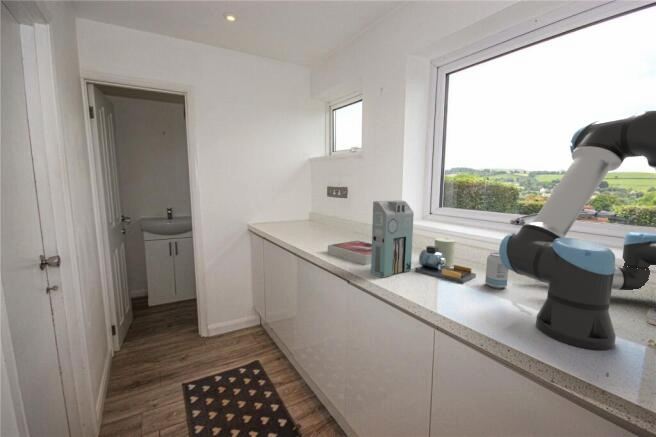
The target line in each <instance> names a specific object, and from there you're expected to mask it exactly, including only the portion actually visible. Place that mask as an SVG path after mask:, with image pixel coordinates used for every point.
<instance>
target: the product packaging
mask: <svg viewBox="0 0 656 437" xmlns="http://www.w3.org/2000/svg"><path fill="white" fill-rule="evenodd" d="M327 254H330V255H332V256H335V257H339V258H341V259H345V260H348V261H351V262H354V263H357V264H360V265H364V266H369V264H370V265H371V257H372V242H366V241H363V240H358V239H356V240H349V241H345V242H337V243H331V244H328V245H327Z"/></svg>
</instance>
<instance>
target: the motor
mask: <svg viewBox="0 0 656 437" xmlns="http://www.w3.org/2000/svg"><path fill="white" fill-rule="evenodd" d="M425 247H426V248H425V249H423V250H422V251H421V252H420V254H419V257H418V258H419V259H418V261H419V264H420V266H418V267H415V269H414V270H415V273H420V274H424V275H426V276H427V275H428V276H432V277H435V278H439V279H442V280H443V279H444V280H447V281H451V282H455V283H457V284H461V285H464V284H465V283H468V282H469V281H471V280H473V279H475V278H476V276H477V274H476V273H475V272H472V271H473V267H468V266H465V265H464V266H463V265H459V264H454V266H453V267H450V266H444V265H445V264H446V259H445V256H444V254H443V253H438V252H439V247H435V245H428V246H425Z"/></svg>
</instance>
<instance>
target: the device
mask: <svg viewBox="0 0 656 437" xmlns="http://www.w3.org/2000/svg"><path fill="white" fill-rule="evenodd" d="M414 216H415V215H414V211H413V209H412V208H411V206H410V205H409V203H408V202H407V201H406V200H400V199H399V200H377V201H372V227H371V228H372V229H371V230H372V232H371V244H372V257H371V264H370V267H371V268H370V273H371V274H372V275H375V276H377V275H378V277H381V278H383V279H384V278H389V277H390V276H396V275H399V274H403V273H407V272H410V271H411V270H412V258H413V257H412V255H413V252H412V251H413V234H414V233H413V232H414Z"/></svg>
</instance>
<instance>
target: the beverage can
mask: <svg viewBox="0 0 656 437" xmlns="http://www.w3.org/2000/svg"><path fill="white" fill-rule="evenodd" d="M486 258H487V259H486V268H485V269H486V270H485V280H484V281H485V282H484V283H485V284H487V286H488V287H490V288H493V289H499V290H500V289H501V290H502V289H504V288H506V287H507V286H508V278H509V277H508V276H509V269H507V268H506V267H505V266H504V265H503V264H502V262H501V260H500V254H499V252H489V255H488V256H487V257H486Z"/></svg>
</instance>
